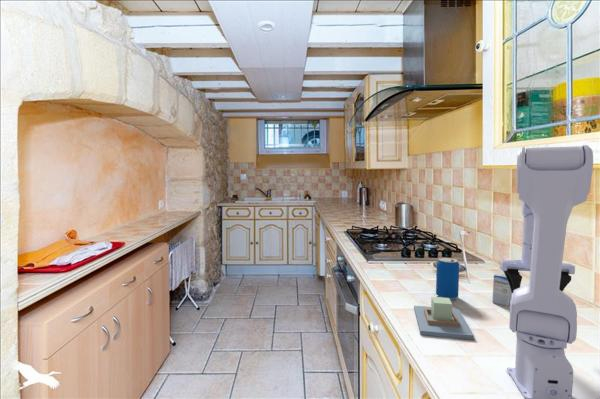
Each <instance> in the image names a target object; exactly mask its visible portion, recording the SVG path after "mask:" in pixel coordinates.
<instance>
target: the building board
mask: <svg viewBox="0 0 600 399" xmlns="http://www.w3.org/2000/svg"><path fill="white" fill-rule="evenodd" d="M413 311H414V315H415V318H416V323H417V327H418V331H419V335H420V336H430V337H432V336H433V337H441V338H442V337H443V338H451V339H453V338H454V339H463V340H473V341H474V340H475V335H474V333H473V331H472V329H471V328H470V325H469V324H468V322H467V321H466V318H465V317H464V315H463V314H462V312H461V310H460V308H453V307H452V321H443V320H433V319H432V316H431V306H424V305H423V306H422V305H414V306H413Z"/></svg>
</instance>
